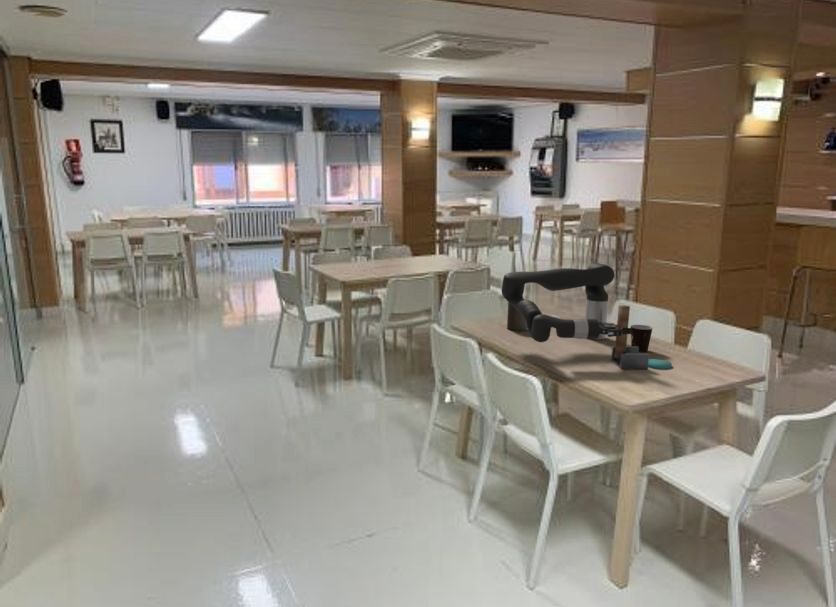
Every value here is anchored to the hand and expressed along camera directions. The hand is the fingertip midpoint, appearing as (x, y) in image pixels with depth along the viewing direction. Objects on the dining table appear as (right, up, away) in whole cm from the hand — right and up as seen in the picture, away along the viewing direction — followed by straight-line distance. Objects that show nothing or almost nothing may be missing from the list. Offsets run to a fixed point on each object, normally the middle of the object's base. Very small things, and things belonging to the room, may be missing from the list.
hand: (629, 329), depth 242 cm
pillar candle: (-33, -2, +58) cm, 67 cm away
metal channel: (+1, -14, +3) cm, 14 cm away
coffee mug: (+11, -10, +23) cm, 27 cm away
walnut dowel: (-3, -11, +2) cm, 11 cm away
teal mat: (+12, -14, +3) cm, 18 cm away
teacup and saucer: (-14, 0, +74) cm, 75 cm away
